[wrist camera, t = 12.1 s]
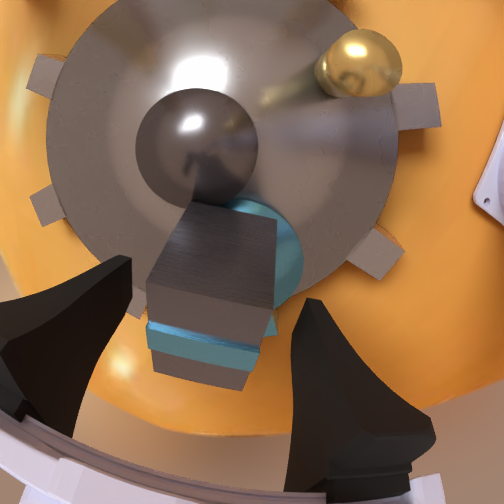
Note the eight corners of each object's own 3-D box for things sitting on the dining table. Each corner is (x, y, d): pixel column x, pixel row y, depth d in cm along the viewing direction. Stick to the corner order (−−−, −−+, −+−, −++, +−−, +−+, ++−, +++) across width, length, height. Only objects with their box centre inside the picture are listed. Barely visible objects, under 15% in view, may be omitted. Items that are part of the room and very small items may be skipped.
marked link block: (278, 219, 12) (275, 314, 8) (253, 304, 15) (242, 394, 11) (189, 200, 12) (141, 285, 8) (182, 288, 15) (151, 374, 11)
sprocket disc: (429, 285, 16) (467, 349, 11) (120, 334, 20) (89, 392, 15) (361, -74, 6) (391, -127, 1) (11, 57, 10) (-55, 63, 5)
